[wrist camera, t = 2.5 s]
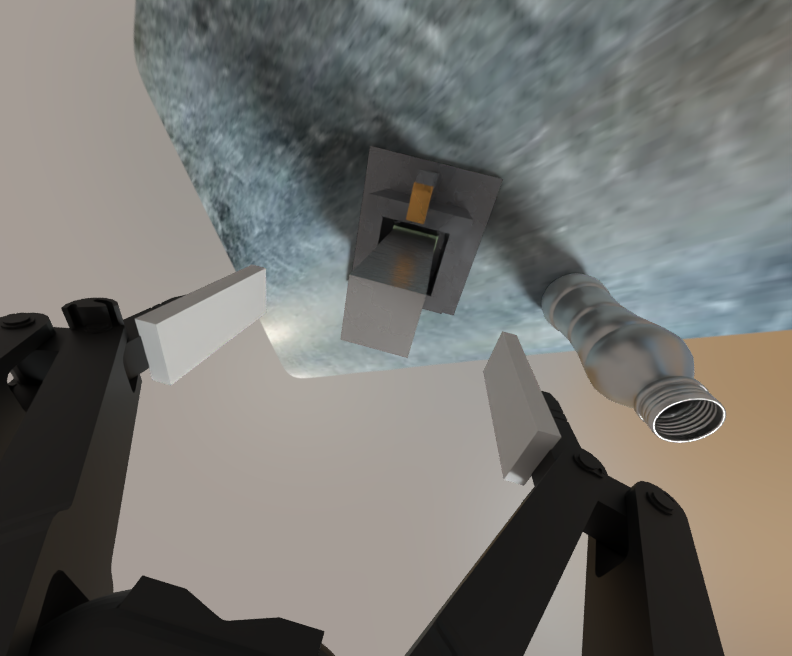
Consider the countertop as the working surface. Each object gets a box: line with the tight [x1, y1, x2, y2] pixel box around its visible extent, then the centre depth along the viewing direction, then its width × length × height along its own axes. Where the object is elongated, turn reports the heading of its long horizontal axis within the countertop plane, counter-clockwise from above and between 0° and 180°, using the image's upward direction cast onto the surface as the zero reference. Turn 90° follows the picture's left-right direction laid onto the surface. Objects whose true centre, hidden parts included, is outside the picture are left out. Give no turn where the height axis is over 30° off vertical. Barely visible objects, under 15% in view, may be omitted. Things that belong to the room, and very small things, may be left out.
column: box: [341, 221, 439, 358], centre depth 24 cm, size 5×4×20 cm
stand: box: [352, 146, 503, 315], centre depth 28 cm, size 16×14×12 cm
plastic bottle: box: [541, 273, 726, 443], centre depth 25 cm, size 6×7×20 cm
